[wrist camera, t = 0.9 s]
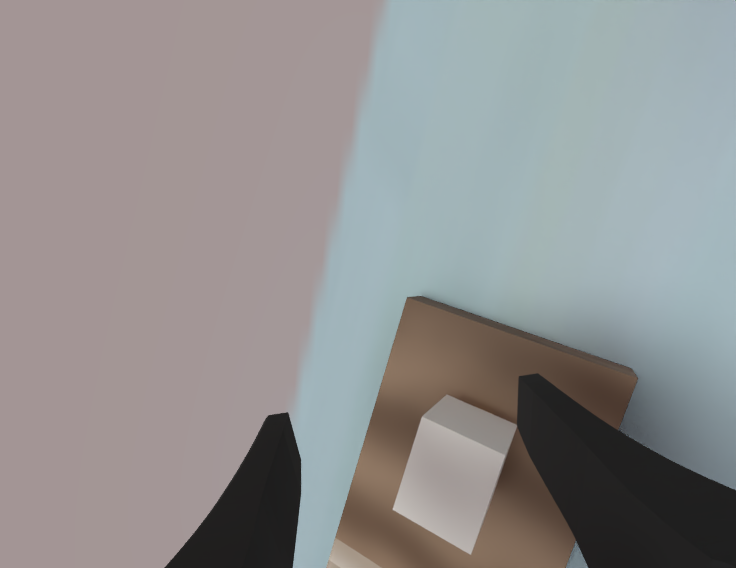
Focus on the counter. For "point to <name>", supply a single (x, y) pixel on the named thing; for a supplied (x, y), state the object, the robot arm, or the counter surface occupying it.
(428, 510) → the plug
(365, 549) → the socket board
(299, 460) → the robot arm
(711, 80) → the counter surface
